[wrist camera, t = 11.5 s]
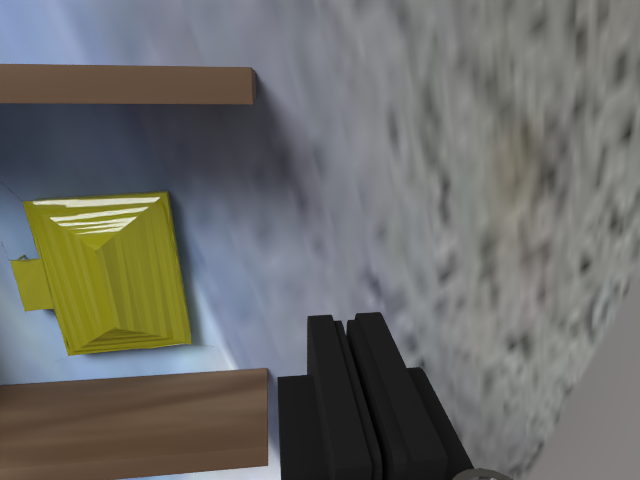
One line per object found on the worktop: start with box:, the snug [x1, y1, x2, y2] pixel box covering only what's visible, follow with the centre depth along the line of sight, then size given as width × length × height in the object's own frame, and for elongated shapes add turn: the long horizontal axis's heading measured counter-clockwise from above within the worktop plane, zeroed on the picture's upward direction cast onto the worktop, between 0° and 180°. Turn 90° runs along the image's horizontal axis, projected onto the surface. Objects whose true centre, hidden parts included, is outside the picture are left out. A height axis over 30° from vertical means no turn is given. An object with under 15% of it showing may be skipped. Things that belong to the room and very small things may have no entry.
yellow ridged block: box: [0, 172, 214, 360], centre depth 18 cm, size 10×9×3 cm
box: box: [0, 64, 268, 480], centre depth 16 cm, size 15×15×5 cm
